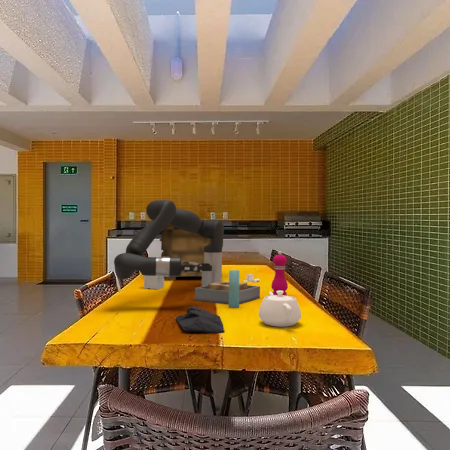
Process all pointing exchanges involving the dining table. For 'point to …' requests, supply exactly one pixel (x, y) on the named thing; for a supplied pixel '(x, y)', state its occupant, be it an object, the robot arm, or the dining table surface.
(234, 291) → the peg
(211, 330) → the dark gray crumpled cloth
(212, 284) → the bore block
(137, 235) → the robot arm
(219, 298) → the tray
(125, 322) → the dining table surface
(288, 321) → the teapot
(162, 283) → the white marbled block
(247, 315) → the dining table surface
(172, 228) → the crate
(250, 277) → the teacup and saucer
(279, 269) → the pepper mill
